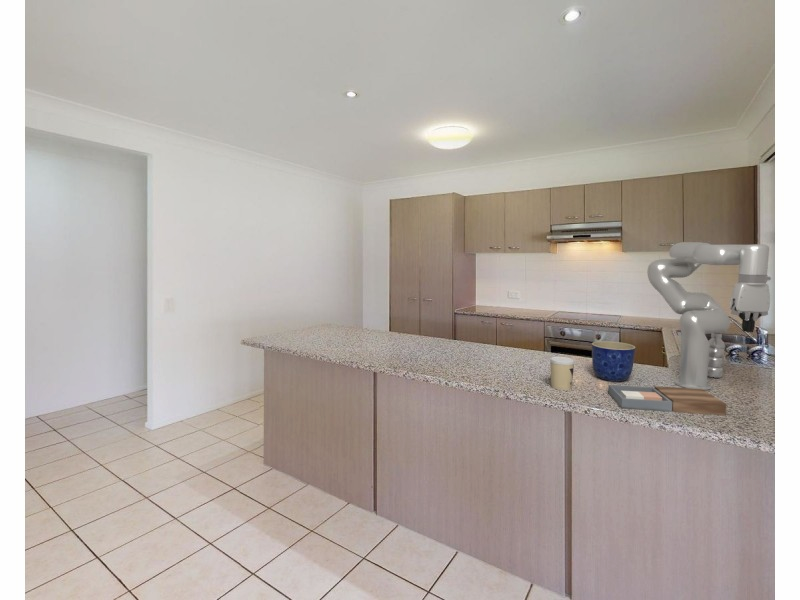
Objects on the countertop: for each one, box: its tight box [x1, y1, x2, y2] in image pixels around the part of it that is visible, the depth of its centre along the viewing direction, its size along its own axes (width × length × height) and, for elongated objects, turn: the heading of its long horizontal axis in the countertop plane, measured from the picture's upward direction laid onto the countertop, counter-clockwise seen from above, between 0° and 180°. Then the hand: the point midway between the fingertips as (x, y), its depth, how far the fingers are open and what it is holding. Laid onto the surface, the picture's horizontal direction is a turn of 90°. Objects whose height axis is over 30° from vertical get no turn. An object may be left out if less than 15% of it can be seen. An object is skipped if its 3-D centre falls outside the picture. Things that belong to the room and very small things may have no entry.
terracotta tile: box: [638, 391, 662, 401], centre depth 148 cm, size 6×6×2 cm
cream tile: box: [621, 391, 644, 399], centre depth 149 cm, size 6×6×2 cm
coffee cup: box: [549, 356, 575, 391], centre depth 166 cm, size 9×9×12 cm
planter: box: [591, 340, 636, 382], centre depth 177 cm, size 17×17×15 cm
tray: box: [607, 384, 672, 412], centre depth 149 cm, size 16×16×4 cm
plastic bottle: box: [707, 332, 726, 379], centre depth 178 cm, size 6×7×20 cm
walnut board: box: [653, 385, 727, 416], centre depth 145 cm, size 16×16×4 cm
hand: (747, 331), depth 142 cm, fingers closed
